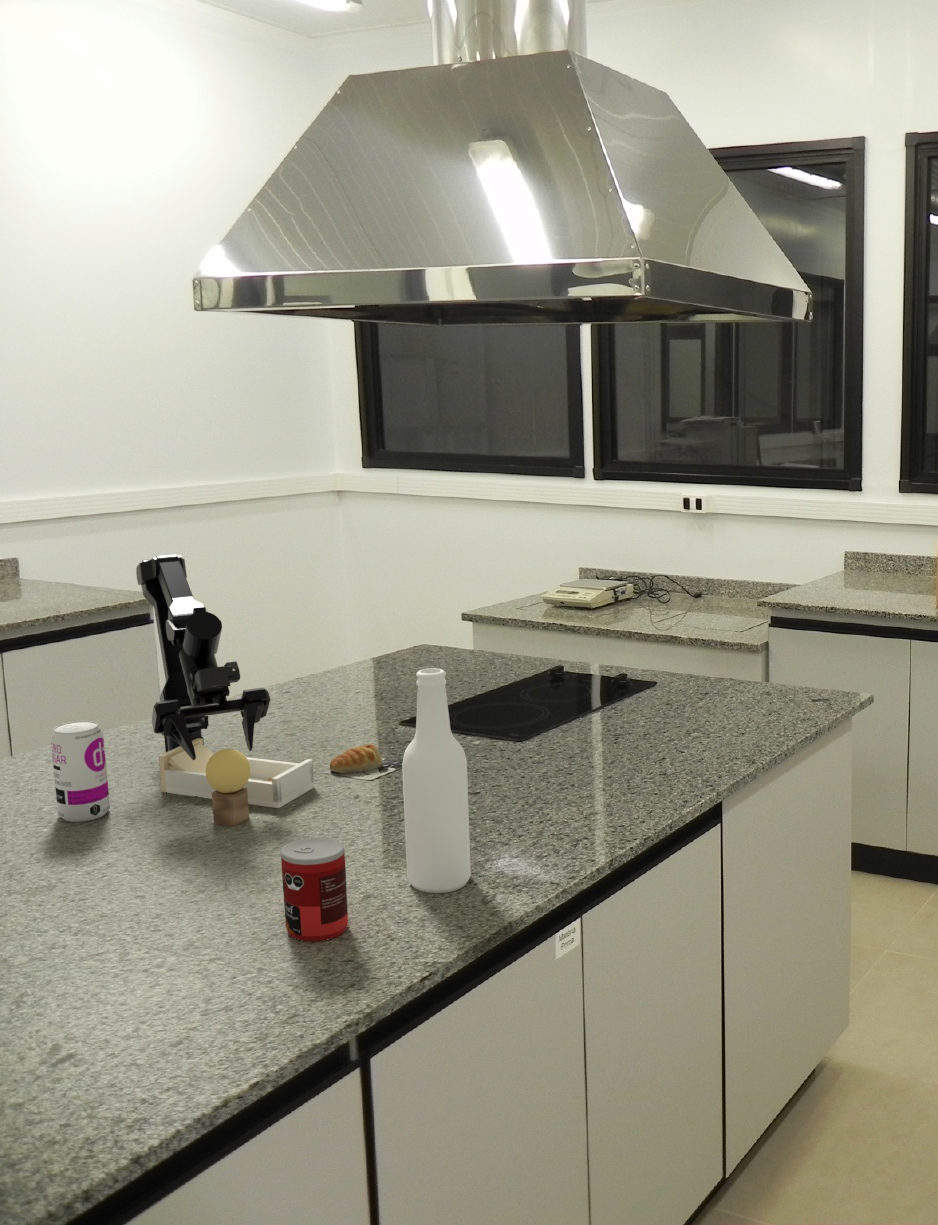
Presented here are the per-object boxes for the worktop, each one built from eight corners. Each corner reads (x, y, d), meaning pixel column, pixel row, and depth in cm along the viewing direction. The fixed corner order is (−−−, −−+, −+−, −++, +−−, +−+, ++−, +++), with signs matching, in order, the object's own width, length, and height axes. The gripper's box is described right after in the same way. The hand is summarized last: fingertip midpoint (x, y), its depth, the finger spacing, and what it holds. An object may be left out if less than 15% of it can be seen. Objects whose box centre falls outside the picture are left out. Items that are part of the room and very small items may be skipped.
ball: (198, 796, 193) (194, 754, 191) (224, 782, 199) (221, 741, 198) (234, 801, 190) (231, 758, 189) (260, 787, 196) (257, 745, 195)
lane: (161, 791, 210) (158, 755, 209) (200, 772, 220) (198, 738, 219) (278, 808, 200) (276, 770, 199) (314, 787, 210) (312, 751, 209)
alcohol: (406, 871, 173) (397, 665, 167) (468, 867, 174) (461, 662, 168) (408, 896, 164) (398, 680, 159) (473, 892, 165) (466, 677, 159)
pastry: (342, 778, 215) (341, 758, 214) (321, 770, 220) (320, 750, 219) (385, 766, 221) (384, 746, 220) (364, 759, 226) (363, 739, 225)
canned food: (287, 918, 159) (282, 838, 157) (349, 914, 159) (344, 835, 157) (283, 945, 151) (278, 861, 149) (348, 941, 152) (343, 857, 150)
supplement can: (120, 808, 203) (112, 721, 200) (89, 825, 195) (81, 735, 192) (79, 804, 206) (71, 718, 203) (47, 821, 198) (38, 732, 195)
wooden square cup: (213, 823, 194) (211, 792, 193) (228, 814, 198) (226, 784, 197) (234, 826, 193) (232, 795, 192) (249, 817, 196) (247, 787, 195)
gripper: (149, 653, 194) (169, 737, 186) (263, 639, 201) (287, 719, 194) (144, 691, 202) (162, 773, 194) (253, 677, 210) (276, 754, 202)
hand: (223, 754), depth 196 cm, fingers open, 9 cm apart
